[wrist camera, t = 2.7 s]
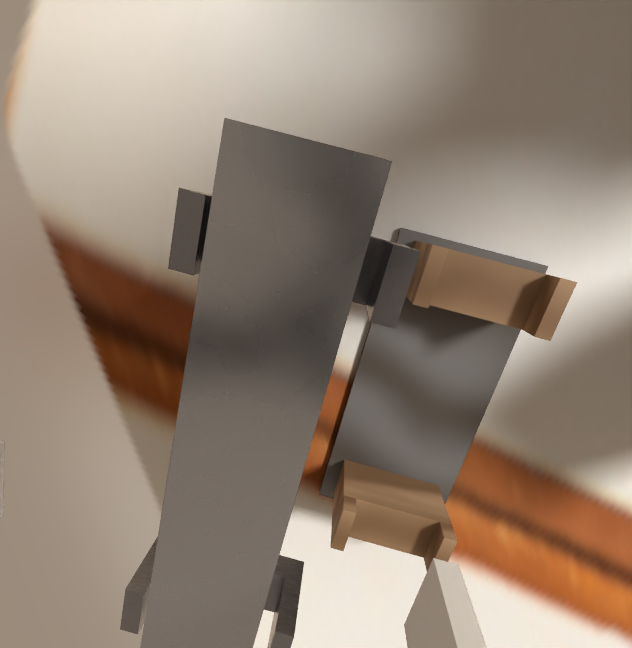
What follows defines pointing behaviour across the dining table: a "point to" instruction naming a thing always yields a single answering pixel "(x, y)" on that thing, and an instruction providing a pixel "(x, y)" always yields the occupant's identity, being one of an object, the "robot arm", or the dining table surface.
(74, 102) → the dining table surface
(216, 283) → the rail
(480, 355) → the bench rests
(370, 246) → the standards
